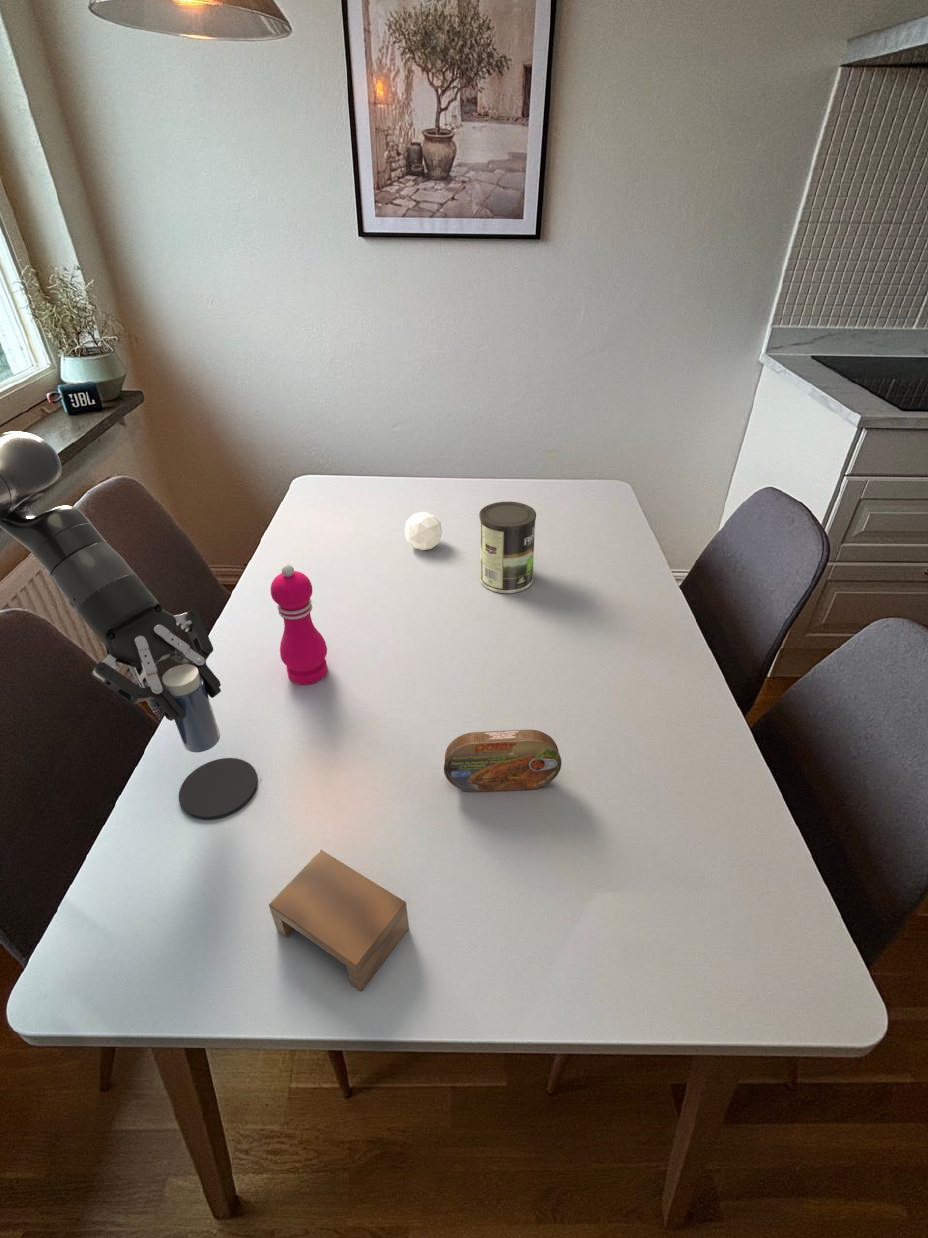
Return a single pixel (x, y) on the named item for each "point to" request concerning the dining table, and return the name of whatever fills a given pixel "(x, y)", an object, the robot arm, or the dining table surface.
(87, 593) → the robot arm
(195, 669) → the cylinder
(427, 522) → the geometric ball
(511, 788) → the tin
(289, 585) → the pepper mill
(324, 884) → the shelf
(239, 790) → the mat
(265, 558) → the dining table surface
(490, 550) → the coffee can
